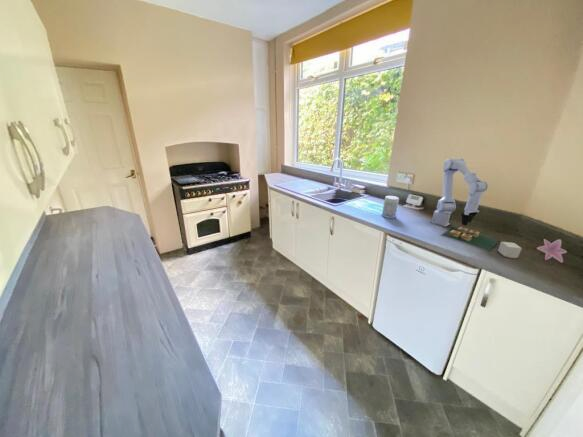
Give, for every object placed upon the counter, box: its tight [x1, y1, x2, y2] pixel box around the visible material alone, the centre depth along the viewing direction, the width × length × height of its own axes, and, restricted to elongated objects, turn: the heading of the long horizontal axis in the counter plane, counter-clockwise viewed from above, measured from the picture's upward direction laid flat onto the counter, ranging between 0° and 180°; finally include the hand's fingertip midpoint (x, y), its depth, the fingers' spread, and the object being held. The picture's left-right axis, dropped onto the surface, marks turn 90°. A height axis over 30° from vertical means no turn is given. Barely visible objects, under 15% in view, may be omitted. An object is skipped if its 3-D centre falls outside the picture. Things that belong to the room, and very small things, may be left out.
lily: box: [536, 238, 568, 264], centre depth 122 cm, size 12×12×10 cm
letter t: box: [468, 229, 480, 237], centre depth 146 cm, size 4×4×2 cm
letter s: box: [449, 230, 461, 237], centre depth 145 cm, size 4×4×2 cm
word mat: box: [442, 227, 499, 251], centre depth 143 cm, size 24×20×1 cm
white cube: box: [497, 241, 523, 259], centre depth 124 cm, size 6×6×6 cm
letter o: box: [460, 233, 472, 241], centre depth 140 cm, size 4×4×2 cm
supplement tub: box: [381, 195, 400, 219], centre depth 172 cm, size 10×10×15 cm
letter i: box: [457, 226, 469, 234], centre depth 150 cm, size 4×4×2 cm
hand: (466, 223), depth 142 cm, fingers open, 7 cm apart
